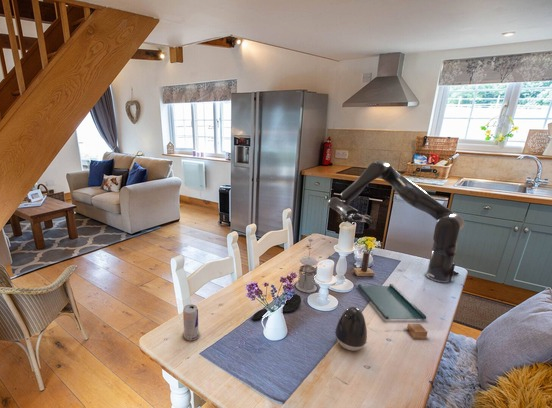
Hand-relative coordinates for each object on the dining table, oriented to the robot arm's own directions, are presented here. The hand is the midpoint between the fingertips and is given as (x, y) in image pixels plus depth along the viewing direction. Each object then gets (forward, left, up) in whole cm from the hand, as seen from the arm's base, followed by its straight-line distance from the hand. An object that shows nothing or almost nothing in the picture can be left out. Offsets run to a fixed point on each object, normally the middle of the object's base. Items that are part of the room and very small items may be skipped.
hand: (362, 222), depth 156 cm
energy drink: (+75, +65, -26) cm, 102 cm away
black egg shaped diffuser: (+18, +60, -26) cm, 68 cm away
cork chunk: (-9, +50, -26) cm, 57 cm away
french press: (+29, +24, -26) cm, 45 cm away
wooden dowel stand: (-1, +8, -26) cm, 27 cm away
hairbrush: (+43, +44, -26) cm, 66 cm away
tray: (-5, +31, -26) cm, 41 cm away
